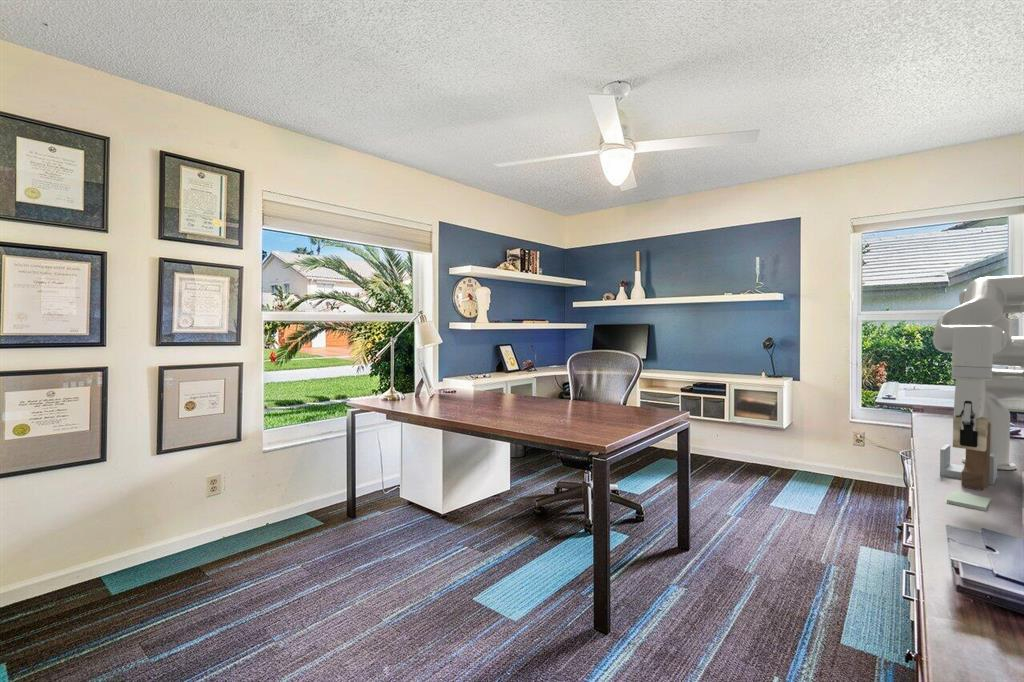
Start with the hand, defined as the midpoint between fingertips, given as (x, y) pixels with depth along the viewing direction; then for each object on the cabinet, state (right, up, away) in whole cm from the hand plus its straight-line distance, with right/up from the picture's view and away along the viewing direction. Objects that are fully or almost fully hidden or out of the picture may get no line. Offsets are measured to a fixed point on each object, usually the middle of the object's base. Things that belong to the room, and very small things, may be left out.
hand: (969, 444), depth 124 cm
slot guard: (+21, -15, +23) cm, 34 cm away
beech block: (0, -1, 0) cm, 1 cm away
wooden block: (+15, -15, +14) cm, 25 cm away
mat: (0, -15, +1) cm, 15 cm away
